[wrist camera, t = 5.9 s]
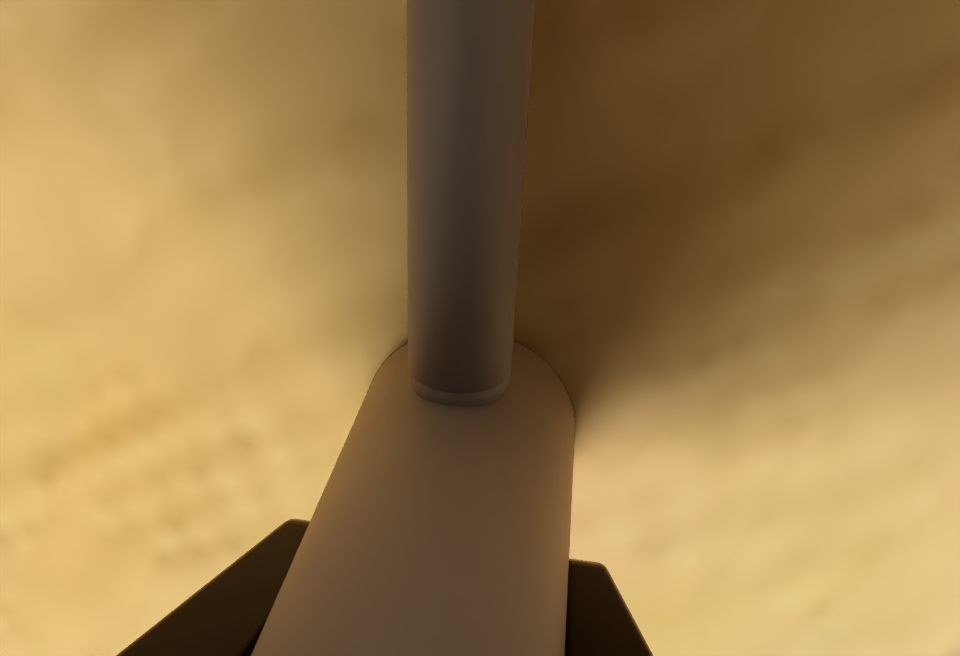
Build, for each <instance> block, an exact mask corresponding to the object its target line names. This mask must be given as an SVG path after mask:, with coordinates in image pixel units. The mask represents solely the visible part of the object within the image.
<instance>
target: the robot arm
mask: <svg viewBox="0 0 960 656" xmlns="http://www.w3.org/2000/svg"><path fill="white" fill-rule="evenodd" d="M309 523H310V521H306V520H299V519H291V520H288V521H286V522H284V523H283V524H282V525H281V526H279V527H278V528H277V529H275V530H274V531H273V532H272V533H270V534H269V535H268V536H267V537H265V538H264V539H263V540H262V541H260V542H259V543H258V544H257V545H255V546H254V547H253V548H251V549H250V550H249V551H248V552H246V553H245V554H244V555H243V556H241V557H240V558H239V559H238V560H236V561H235V562H234V563H233V564H231V565H230V566H229V567H227V568H226V569H225V570H224V571H222V572H221V573H220V574H219V575H217V576H216V577H215V578H214V579H212V580H211V581H210V582H209V583H207V584H206V585H205V586H204V587H202V588H201V589H200V590H198V591H197V592H196V593H195V594H193V595H192V596H191V597H190V598H188V599H187V600H186V601H185V602H183V603H182V604H181V605H180V606H178V607H177V608H176V609H174V610H173V611H172V612H171V613H169V614H168V615H167V616H166V617H164V618H163V619H162V620H161V621H159V622H158V623H157V624H156V625H154V626H153V627H152V628H150V629H149V630H148V631H147V632H145V633H144V634H143V635H142V636H140V637H139V638H138V639H137V640H135V641H134V642H133V643H132V644H130V645H129V646H128V647H126V648H125V649H124V650H123V651H121V652H120V653H119V654H118V655H116V656H251V654H252V652H253V650H254V648H255V645H256V643H257V641H258V639H259V636H260V634H261V632H262V629H263V627H264V625H265V623H266V620H267V618H268V616H269V614H270V611H271V609H272V607H273V605H274V602H275V600H276V598H277V596H278V593H279V591H280V589H281V586H282V584H283V582H284V580H285V577H286V575H287V573H288V571H289V568H290V566H291V564H292V562H293V559H294V557H295V555H296V553H297V550H298V548H299V546H300V543H301V541H302V539H303V537H304V534H305V532H306V530H307V528H308V525H309ZM564 656H653V654H652V652H651V651H650V649H649V647H648V645H647V643H646V641H645V639H644V637H643V635H642V634H641V632H640V630H639V628H638V626H637V624H636V622H635V620H634V619H633V617H632V615H631V613H630V611H629V609H628V607H627V605H626V604H625V602H624V600H623V598H622V596H621V594H620V592H619V590H618V588H617V587H616V585H615V583H614V581H613V579H612V577H611V575H610V573H609V572H608V570H607V568H606V567H605V566H604V565H603V564H601V563H597V562H590V561H583V560H576V559H569V568H568V590H567V612H566V634H565V655H564Z"/></svg>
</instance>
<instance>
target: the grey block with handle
mask: <svg viewBox="0 0 960 656" xmlns="http://www.w3.org/2000/svg"><path fill="white" fill-rule="evenodd" d="M534 11H535V0H407V198H408V343H407V344H405V345H404V346H402V347H401V348H399V349H398V350H396V351H395V352H394V353H393V354H392V355H391V356H390V357H389V358H387V359H386V361H385V362H384V363H383V364H382V366H381V367H380V368H379V370H378V371H377V373H376V375H375V377H374V378H373V381H372V383H371V385H370V387H369V390H368V392H367V394H366V396H365V399H364V401H363V403H362V405H361V408H360V410H359V412H358V415H357V417H356V419H355V421H354V424H353V426H352V428H351V430H350V433H349V435H348V437H347V439H346V442H345V444H344V446H343V448H342V451H341V453H340V455H339V457H338V460H337V462H336V464H335V467H334V469H333V471H332V473H331V476H330V478H329V480H328V482H327V485H326V487H325V489H324V491H323V494H322V496H321V498H320V500H319V503H318V505H317V507H316V510H315V512H314V514H313V516H312V519H311V521H310V523H309V525H308V528H307V530H306V532H305V534H304V537H303V539H302V541H301V543H300V546H299V548H298V550H297V553H296V555H295V557H294V559H293V562H292V564H291V566H290V568H289V571H288V573H287V575H286V577H285V580H284V582H283V584H282V586H281V589H280V591H279V593H278V596H277V598H276V600H275V602H274V605H273V607H272V609H271V611H270V614H269V616H268V618H267V620H266V623H265V625H264V627H263V629H262V632H261V634H260V636H259V639H258V641H257V643H256V645H255V648H254V650H253V652H252V654H251V656H564V655H565V634H566V612H567V590H568V568H569V546H570V524H571V503H572V481H573V459H574V437H575V417H574V409H573V406H572V403H571V399H570V396H569V394H568V392H567V390H566V388H565V386H564V384H563V383H562V381H561V380H560V378H559V377H558V375H557V374H556V373H555V372H554V370H553V369H552V368H551V367H550V366H549V365H548V364H547V363H546V362H545V361H544V360H543V359H542V358H540V357H539V356H538V355H537V354H535V353H534V352H532V351H531V350H530V349H528V348H526V347H525V346H523V345H521V344H519V343H517V342H515V341H513V339H514V324H515V308H516V293H517V277H518V261H519V246H520V230H521V214H522V199H523V183H524V167H525V152H526V136H527V120H528V105H529V89H530V73H531V58H532V42H533V26H534Z"/></svg>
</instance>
